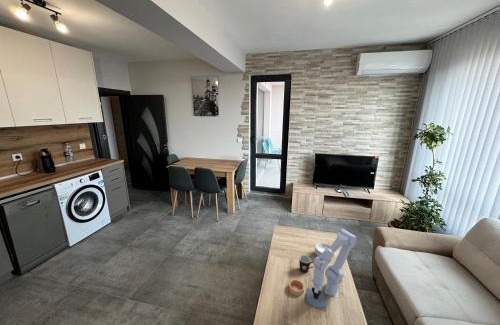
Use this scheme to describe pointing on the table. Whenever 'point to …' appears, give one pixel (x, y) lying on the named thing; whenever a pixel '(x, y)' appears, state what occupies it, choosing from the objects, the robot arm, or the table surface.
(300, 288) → the bowl
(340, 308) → the table surface
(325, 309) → the mat
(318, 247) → the paper bowls
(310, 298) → the lid
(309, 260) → the coffee mug
